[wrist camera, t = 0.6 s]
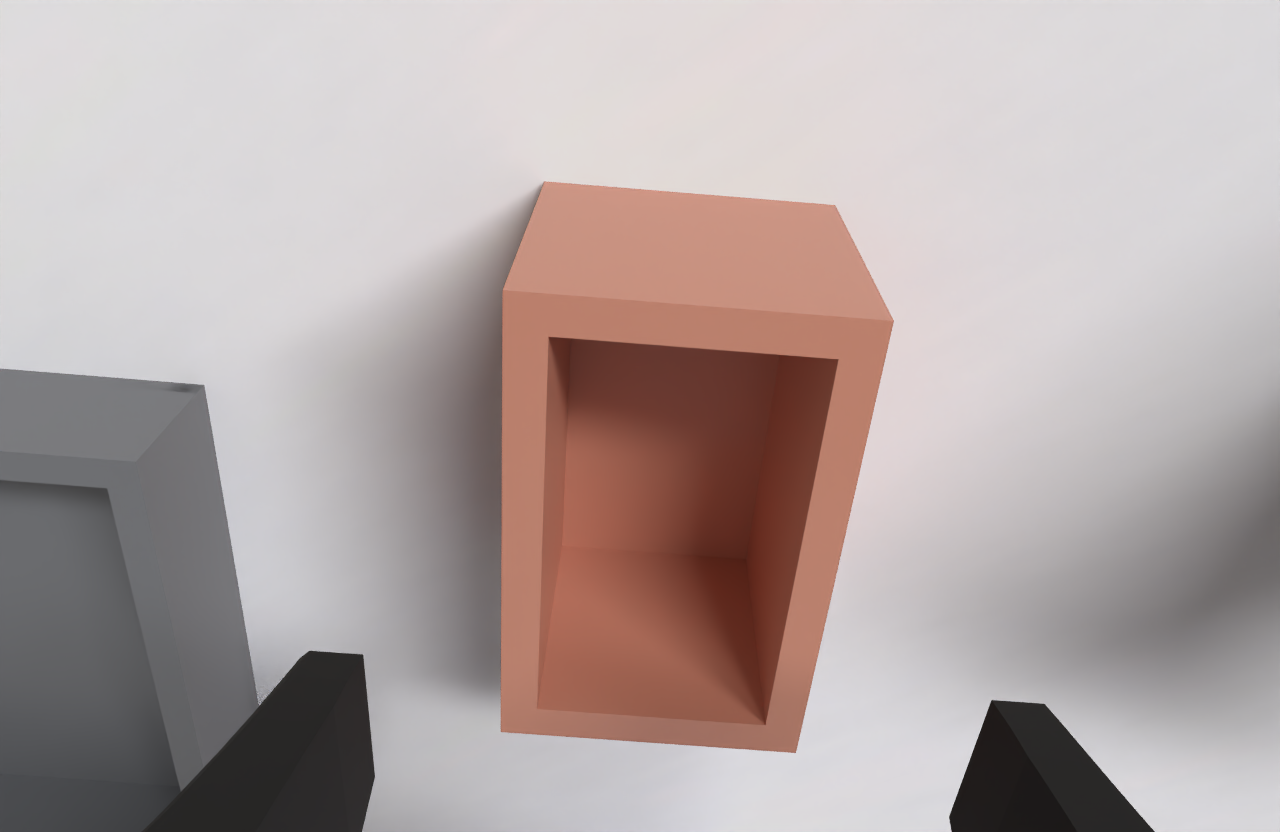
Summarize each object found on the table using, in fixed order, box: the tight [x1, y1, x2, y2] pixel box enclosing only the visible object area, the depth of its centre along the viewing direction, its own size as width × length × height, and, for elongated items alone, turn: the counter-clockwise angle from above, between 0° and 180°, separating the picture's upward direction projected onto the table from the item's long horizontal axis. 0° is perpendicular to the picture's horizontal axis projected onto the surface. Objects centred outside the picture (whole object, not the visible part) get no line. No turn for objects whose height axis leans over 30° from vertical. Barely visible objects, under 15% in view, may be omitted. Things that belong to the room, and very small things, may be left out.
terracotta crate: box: [501, 182, 894, 753], centre depth 16 cm, size 8×5×5 cm, turn 176°
